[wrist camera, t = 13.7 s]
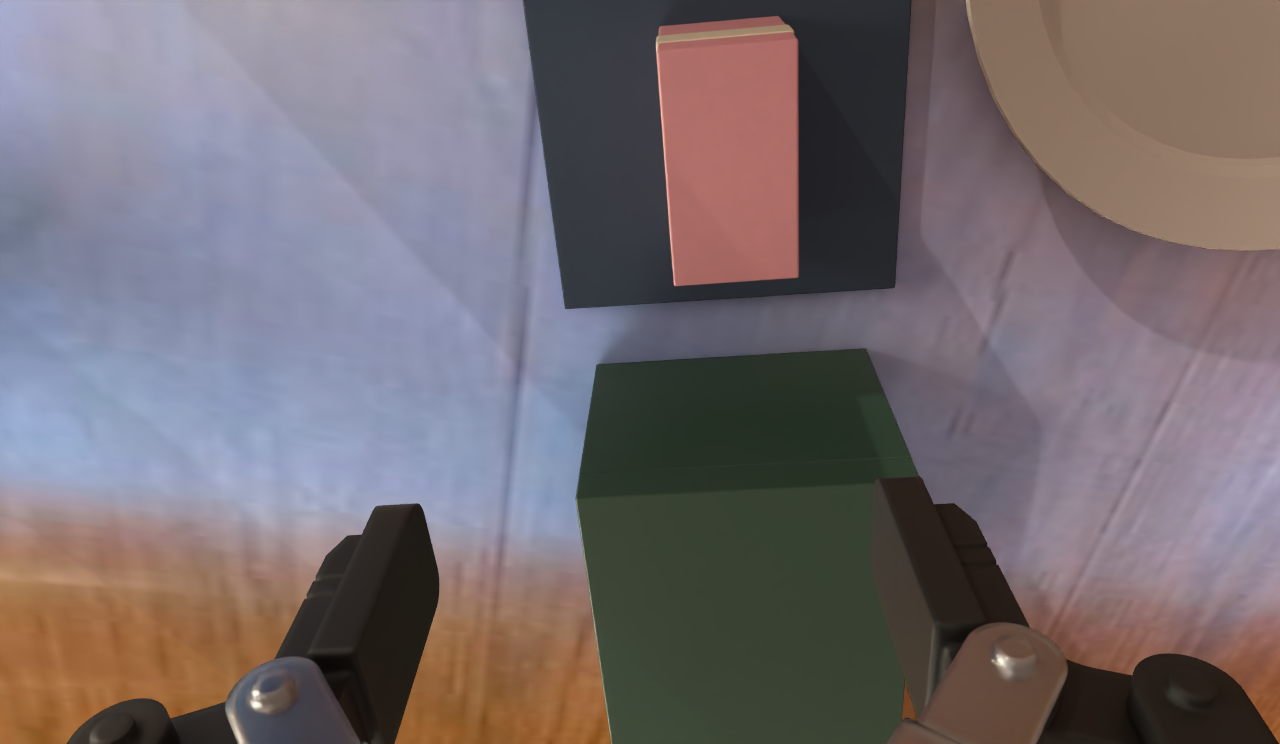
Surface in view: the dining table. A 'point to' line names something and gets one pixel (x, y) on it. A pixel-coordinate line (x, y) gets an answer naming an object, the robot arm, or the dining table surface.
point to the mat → (634, 154)
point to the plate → (1146, 109)
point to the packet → (731, 149)
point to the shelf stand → (740, 549)
